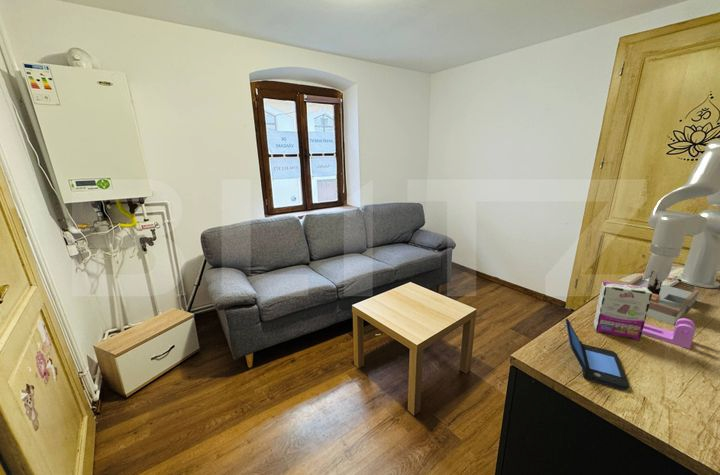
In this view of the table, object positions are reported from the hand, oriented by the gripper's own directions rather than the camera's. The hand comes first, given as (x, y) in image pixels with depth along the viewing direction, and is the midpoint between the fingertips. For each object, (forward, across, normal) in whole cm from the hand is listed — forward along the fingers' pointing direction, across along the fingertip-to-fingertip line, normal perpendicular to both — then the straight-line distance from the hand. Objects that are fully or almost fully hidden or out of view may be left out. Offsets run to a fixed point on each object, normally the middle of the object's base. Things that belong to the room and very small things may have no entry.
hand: (651, 296), depth 108 cm
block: (+1, +4, 0) cm, 5 cm away
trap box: (+4, -5, 0) cm, 6 cm away
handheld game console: (+4, +52, +2) cm, 53 cm away
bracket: (+4, +20, +8) cm, 22 cm away
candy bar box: (+4, +29, 0) cm, 30 cm away
